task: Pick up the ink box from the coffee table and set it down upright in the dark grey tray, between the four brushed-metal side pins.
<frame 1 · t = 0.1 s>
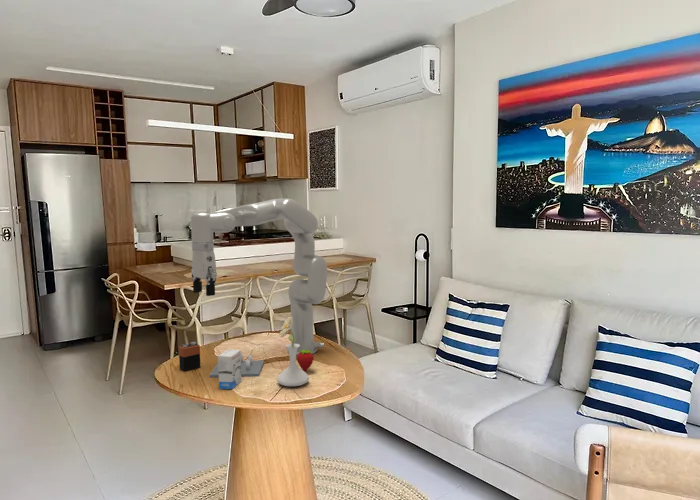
hand: (204, 293, 175), 31 cm above the table, tool pointing down, fingers open, 9 cm apart
ink box: (230, 385, 170), on the table
strawberry: (305, 372, 183), on the table
battery: (190, 368, 187), on the table
pin tray: (238, 369, 186), on the table
flower in vase: (292, 384, 170), on the table
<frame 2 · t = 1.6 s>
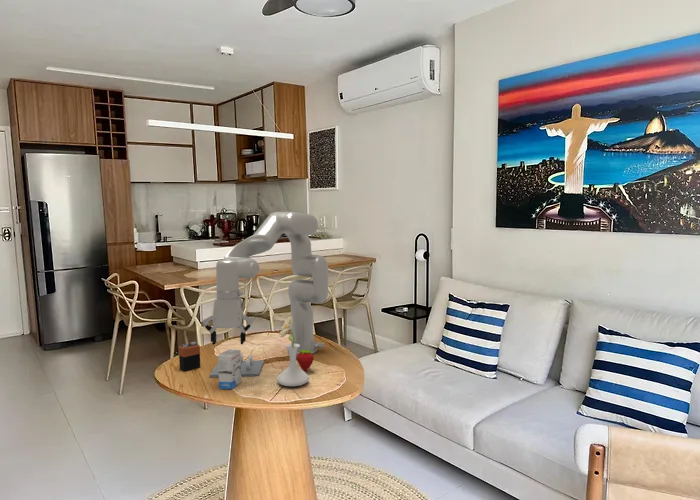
hand: (228, 343, 168), 15 cm above the table, tool pointing down, fingers open, 9 cm apart
nothing on the table moved.
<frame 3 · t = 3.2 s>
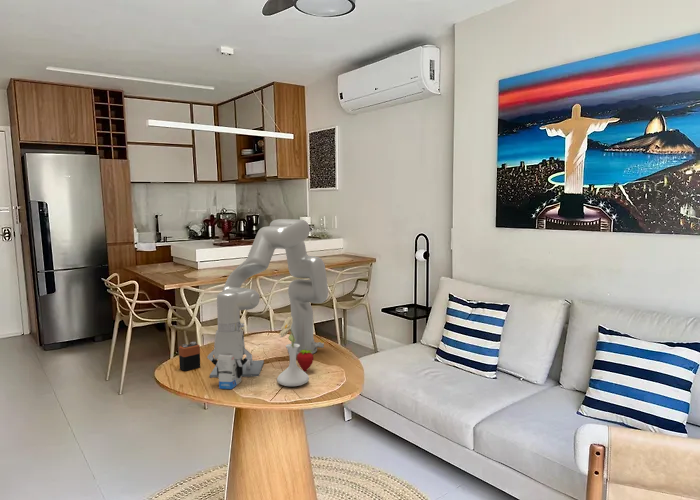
hand: (230, 376, 169), 3 cm above the table, tool pointing down, fingers closed on ink box, 5 cm apart
ink box: (230, 385, 170), on the table, touching gripper
everything else where it was.
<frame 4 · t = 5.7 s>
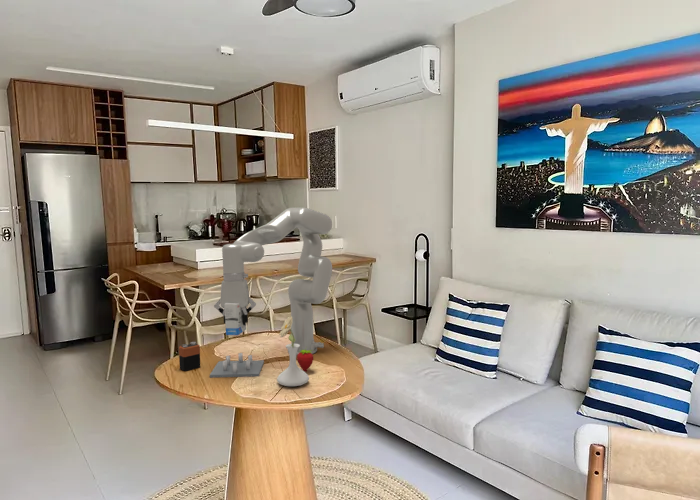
hand: (236, 324, 180), 19 cm above the table, tool pointing down, fingers closed on ink box, 5 cm apart
ink box: (236, 332, 180), point 16 cm above the table, touching gripper
everything else where it was.
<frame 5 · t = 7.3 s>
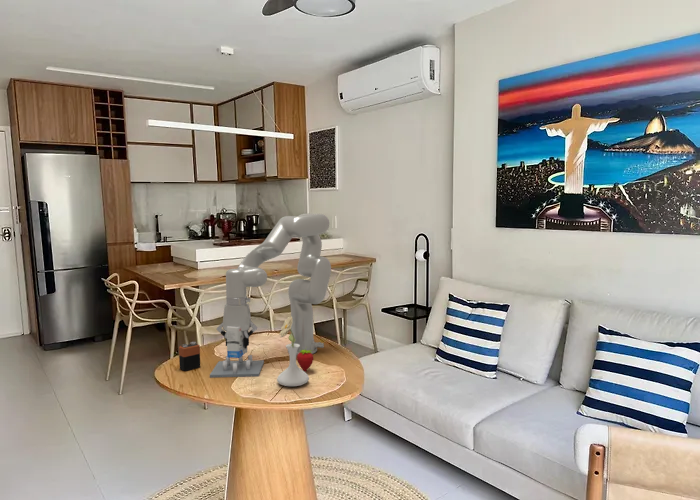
hand: (237, 347, 185), 9 cm above the table, tool pointing down, fingers closed on ink box, 5 cm apart
ink box: (237, 355, 185), point 6 cm above the table, touching gripper
everything else where it was.
when the fingers open (6 cm above the table, at t = 8.4 s): ink box drops 2 cm, resting on pin tray.
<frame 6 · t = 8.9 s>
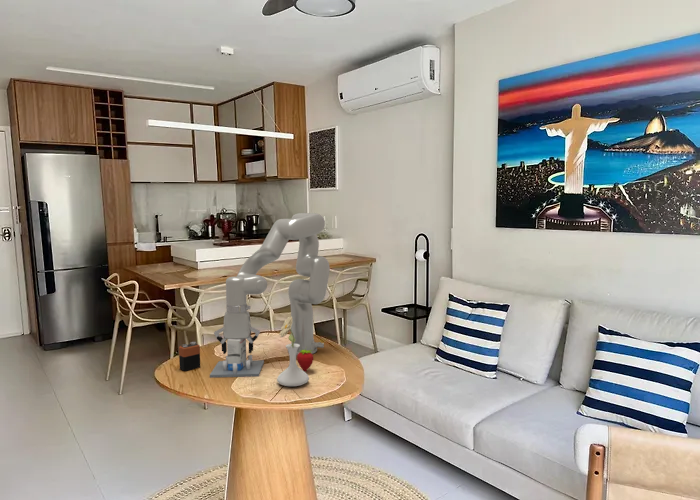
hand: (237, 352, 185), 7 cm above the table, tool pointing down, fingers open, 9 cm apart
ink box: (237, 367, 186), point 1 cm above the table, touching pin tray
everything else where it was.
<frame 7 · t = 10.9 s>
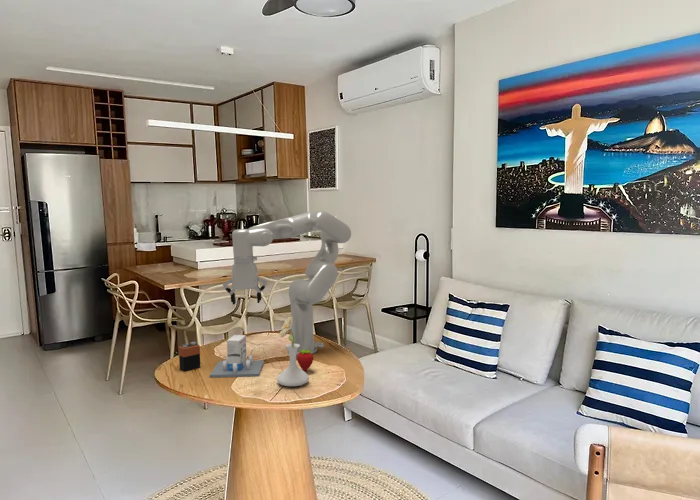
hand: (246, 303, 192), 25 cm above the table, tool pointing down, fingers open, 9 cm apart
nothing on the table moved.
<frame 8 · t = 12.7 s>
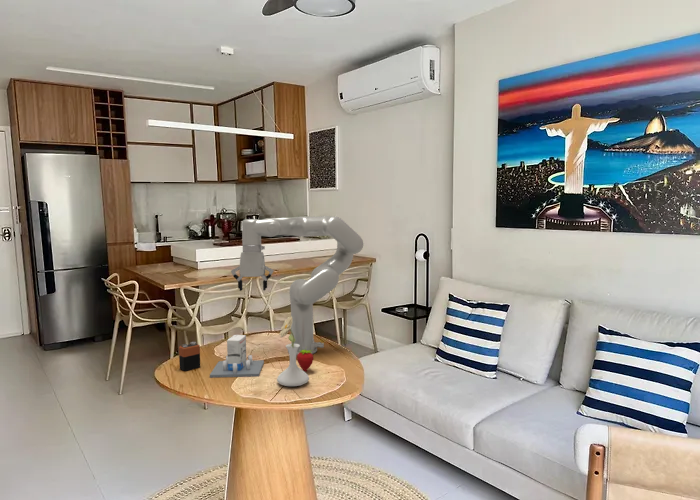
hand: (252, 290, 199), 28 cm above the table, tool pointing down, fingers open, 9 cm apart
nothing on the table moved.
at the end: ink box 0.2 cm off-centre on the pin tray, point 0.8 cm above the pin tray's base; ink box tilted 0°; the gripper is holding nothing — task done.
